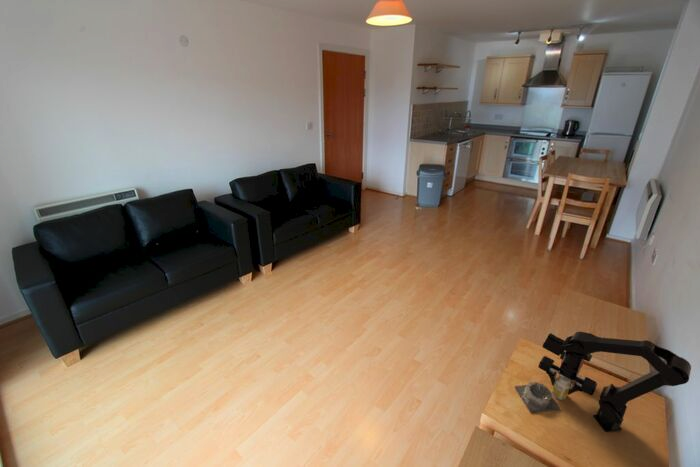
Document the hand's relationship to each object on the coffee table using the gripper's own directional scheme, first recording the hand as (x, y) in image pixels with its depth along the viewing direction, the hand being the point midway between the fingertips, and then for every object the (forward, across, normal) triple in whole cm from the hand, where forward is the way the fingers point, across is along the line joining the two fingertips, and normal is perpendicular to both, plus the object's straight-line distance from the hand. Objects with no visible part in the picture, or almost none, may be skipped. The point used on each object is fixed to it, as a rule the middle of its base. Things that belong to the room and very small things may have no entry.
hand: (560, 389), depth 131 cm
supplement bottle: (+3, 0, 0) cm, 3 cm away
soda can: (+3, 0, -13) cm, 14 cm away
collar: (+3, +6, +8) cm, 11 cm away
